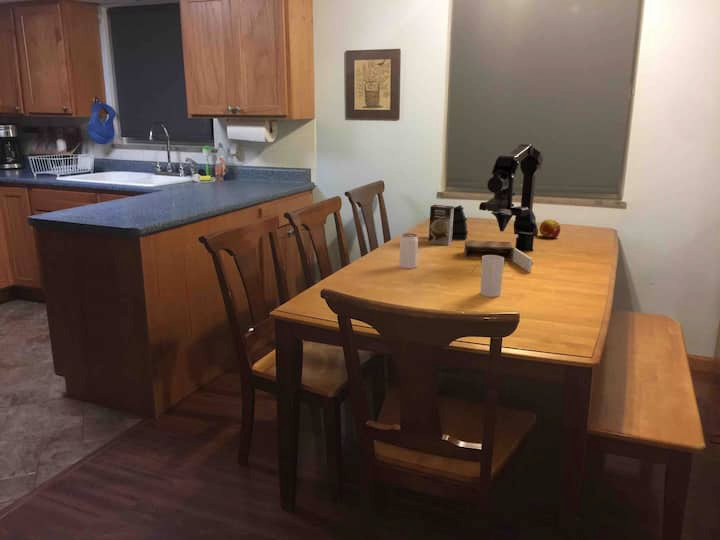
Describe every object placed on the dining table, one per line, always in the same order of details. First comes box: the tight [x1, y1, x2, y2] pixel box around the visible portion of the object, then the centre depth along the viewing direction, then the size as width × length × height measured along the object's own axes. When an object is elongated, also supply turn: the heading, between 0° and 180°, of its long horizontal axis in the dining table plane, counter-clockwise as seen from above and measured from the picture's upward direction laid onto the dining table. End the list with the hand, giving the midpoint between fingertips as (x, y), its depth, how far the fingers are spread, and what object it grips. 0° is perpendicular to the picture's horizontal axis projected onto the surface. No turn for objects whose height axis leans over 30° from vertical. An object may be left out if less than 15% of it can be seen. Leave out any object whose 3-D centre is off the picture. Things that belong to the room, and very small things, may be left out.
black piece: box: [452, 204, 469, 241], centre depth 272 cm, size 4×13×15 cm, turn 66°
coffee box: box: [428, 204, 455, 246], centre depth 261 cm, size 9×6×16 cm
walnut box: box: [464, 239, 514, 261], centre depth 241 cm, size 18×10×5 cm, turn 82°
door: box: [511, 247, 534, 273], centre depth 227 cm, size 17×2×5 cm, turn 7°
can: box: [398, 232, 419, 270], centre depth 222 cm, size 6×6×12 cm
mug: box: [479, 255, 505, 298], centre depth 190 cm, size 10×7×12 cm, turn 170°
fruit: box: [539, 219, 561, 239], centre depth 277 cm, size 10×9×8 cm
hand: (501, 231), depth 230 cm, fingers closed
